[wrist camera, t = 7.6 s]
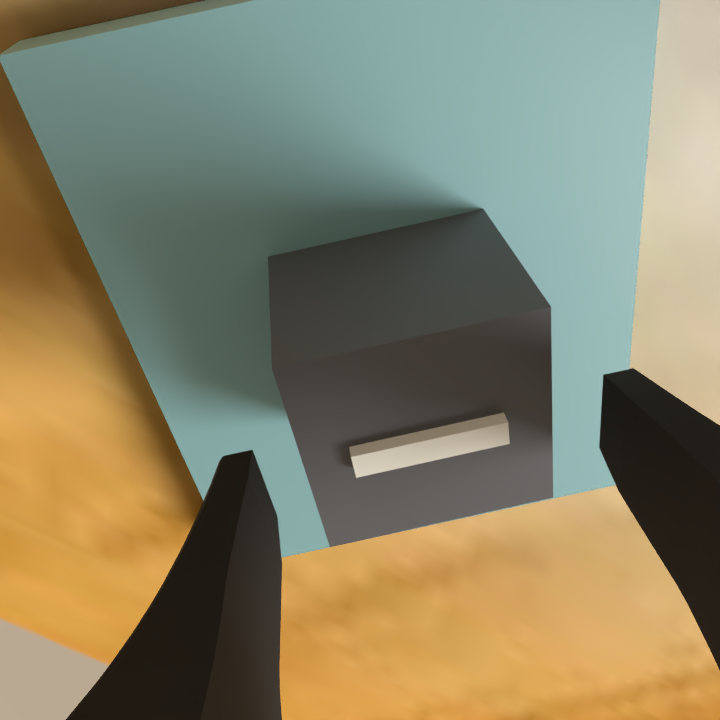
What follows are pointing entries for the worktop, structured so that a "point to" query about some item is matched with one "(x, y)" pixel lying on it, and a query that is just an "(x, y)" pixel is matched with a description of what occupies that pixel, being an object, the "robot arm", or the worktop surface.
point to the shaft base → (344, 184)
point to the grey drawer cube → (414, 375)
